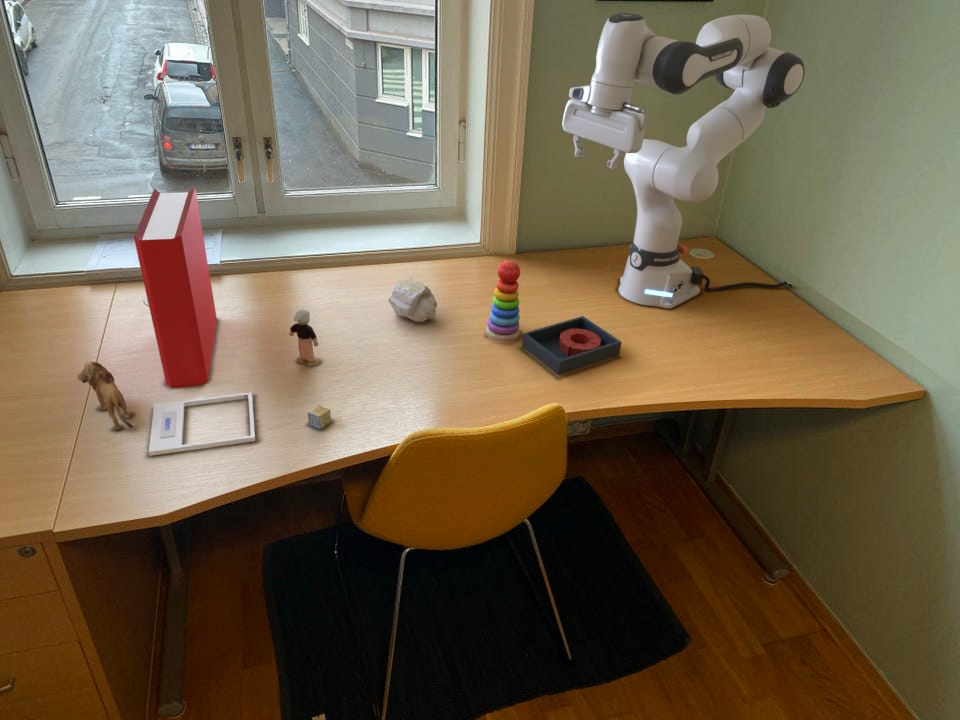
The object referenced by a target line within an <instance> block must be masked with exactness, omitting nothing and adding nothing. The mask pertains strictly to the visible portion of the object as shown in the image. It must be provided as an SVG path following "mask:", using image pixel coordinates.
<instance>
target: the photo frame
mask: <svg viewBox="0 0 960 720" xmlns="http://www.w3.org/2000/svg"><path fill="white" fill-rule="evenodd" d="M247 399H248V412H249V431H250V435H244V436H243V435H242V436H237V437H229V438H222V439H215V440H208V441H201V442H200V441H199V442H194V443H187V444H183V437H184V420H185V407H190V406H191V407H192V406H199V405H206V404H215V403H222V402H230V401H238V400H247ZM254 416H255V415H254V401H253V392H252V391H251V392H243V393H234V394H225V395H219V396H210V397H203V398H202V397H201V398H194V399H188V400H187V399H186V400H177V401H170V402H162V403H154V404H153V411H152V420H151V427H150V428H151V429H150V438H149V445H148V456H149V457H151V456H159V455H166V454H172V453H179V452H187V451H194V450H200V449H208V448H216V447H222V446H223V447H224V446H229V445H237V444H244V443H245V444H246V443H251V442H256V432H255V431H256V430H255V417H254Z"/></svg>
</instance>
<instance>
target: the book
mask: <svg viewBox="0 0 960 720" xmlns="http://www.w3.org/2000/svg"><path fill="white" fill-rule="evenodd" d="M145 207H146V208H145V210H144V211H143V215H142V216H141V219H140V221H139V224H138V226H137V229H136V230H135V233H134V235H133V240H134V244H135V245H134V246H135V249H136V254H137V258H138V262H139V267H140V273H141V277H142V281H143V285H144V290H145V294H146V298H147V303H148V308H149V312H150V317H151V321H152V326H153V331H154V334H155V339H156V343H157V349H158V354H159V357H160V362H161V366H162V367H161V368H162V371H163V376H164V380H165V381H164V382H165V385H166V386H167V387H169V388H171V389H176V388H189V387H201V386H202V385H204V384H206V383H207V382H209V378H210V371H211V370H210V369H211V364H212V358H213V357H212V356H213V351H214V342H215V337H216V336H215V335H216V330H217V324H218V318H217V311H216V306H215V299H214V293H213V287H212V280H211V276H210V275H211V274H210V268H209V263H208V258H207V257H208V256H207V251H206V245H205V240H204V233H203V227H202V221H201V215H200V214H201V213H200V209H199V202H198V196H197V191H196V187H193V188H192V189H191V190H189V191H188V192H186V191H185V192H160V191H159V190H157V189H156V188H153V191H152V193H151V196H150V197H149V200H148V202H147V205H146V206H145Z"/></svg>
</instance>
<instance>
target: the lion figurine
mask: <svg viewBox="0 0 960 720" xmlns="http://www.w3.org/2000/svg"><path fill="white" fill-rule="evenodd" d="M83 366H84V368H83V369H82V370H81V372H80V373H79V374H78V375H77V376H76V378H77V379H78V381H80V382H82V383H83V384H87V383H88V385H89V386H91V388H92V390H93V391H94V392H95V394H96V398H97V400H98V401H99V404H100V405H99V406H98V409H99V410H100V411H104V410H106V411H107V413H108V415H109V417H110V418H111V420H112V423H113V424H114V425H113V430H114V431H118V430H120V429H121V425H120V423H119V420H118V418H119V419H120V420H121V421H122V422H123V423H124V424H125V425H126V426H127V427H128V428H129V429H134V425H133V424H132V423H130V421H129V422H128V420H126V418H127V419H128V418H131V417H132V413H131V412H129V411H128V408H127V403H126V400H125V398H124V396H123V393H121V391H120V389H119V387H118V385H116V383H115V377H114V376H113V374H112V372H110V371H109V370H108V369H107V368H106V367H105V366H103V365H102V364H101V363H99V362H97V361H93V360H92V361H87V362H85V363H84V365H83ZM115 410H116V413H117V415H118V418H117V417H116V415H115ZM121 410H122V412H121ZM123 415H124V416H123Z"/></svg>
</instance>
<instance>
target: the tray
mask: <svg viewBox="0 0 960 720" xmlns="http://www.w3.org/2000/svg"><path fill="white" fill-rule="evenodd" d="M572 328H573V329H575V328H578V329H585V330H589V332H590V331H592V332H594V333H595V334H596V335H598V336H599V337H600V338H601V343H600V347H598V348H595V349H592V350H589V351H585V352H582V353H579V354H576V355H573V356H570V355H569V356H567V355H566V354H565V353H563V352H562V351H561V350H559V348H558V347H559V339H560V335H561V333H562V332H563V331H566V330H569V329H572ZM575 343H578V342H575ZM578 344H584V343H578ZM622 344H623V343H622V340H620V339H618V338H617V337H615V336H614V335H612V334H610V333H609V332H608V331H606V330H605V329H603V328H602V327H600V326H599V325H597V324H596V323H594V322H593V321H591V320H590V319H588V318H587V317H585V316H584V315H581V316H578V317H575V318H572V319H568V320H565V321H561V322H558V323H554V324H550V325H547V326H544V327H540V328H536V329H534V330H529V331H527V332H523V333H522V337H521V348H522V349H524V350H525V351H527V352H528V353H529V354H530V355H531V356H533V357H534V358H536V360H538V362H540V363H542V364H543V365H544V366H545V367H546V368H548V369H549V370H550V371H552V372H553V373H554V374H556V375H557V376H561V375H564V374H567V373H570V372H573V371H576V370H579V369H582V368H585V367H588V366H591V365H594V364H597V363H600V362H604V361H606V360H609V359H612V358H615V357H618V356H620V354H621V348H622Z"/></svg>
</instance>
